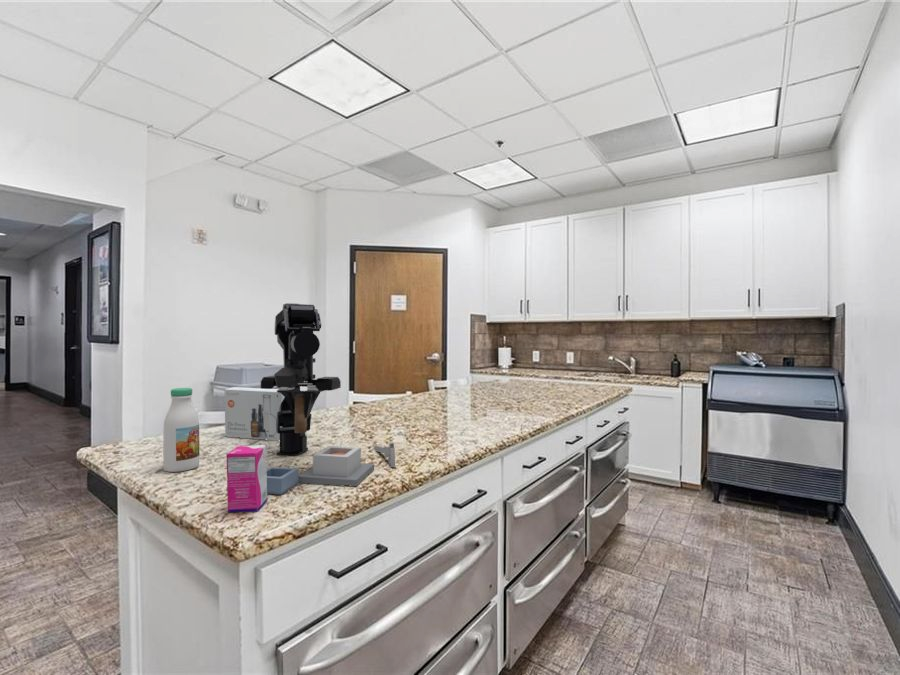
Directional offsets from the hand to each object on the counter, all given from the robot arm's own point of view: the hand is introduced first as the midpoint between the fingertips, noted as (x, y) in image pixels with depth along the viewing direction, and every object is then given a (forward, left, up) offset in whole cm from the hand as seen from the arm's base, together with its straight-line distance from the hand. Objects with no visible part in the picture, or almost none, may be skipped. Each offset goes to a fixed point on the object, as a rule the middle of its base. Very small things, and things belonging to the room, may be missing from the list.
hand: (300, 417), depth 108 cm
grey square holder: (+11, -3, -13) cm, 17 cm away
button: (+11, -3, -10) cm, 15 cm away
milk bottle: (-30, -4, -13) cm, 33 cm away
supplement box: (+1, -23, -13) cm, 26 cm away
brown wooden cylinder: (0, 0, -4) cm, 4 cm away
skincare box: (-30, +28, -13) cm, 44 cm away
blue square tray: (+1, -13, -13) cm, 18 cm away
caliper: (+17, +14, -14) cm, 26 cm away
